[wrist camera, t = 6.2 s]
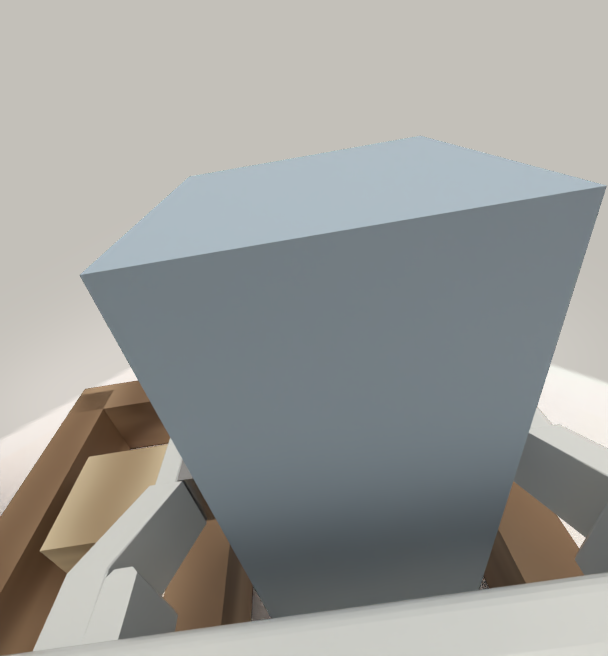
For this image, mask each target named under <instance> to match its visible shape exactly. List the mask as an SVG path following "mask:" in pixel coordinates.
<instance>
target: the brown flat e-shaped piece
mask: <svg viewBox="0 0 608 656" xmlns="http://www.w3.org/2000/svg"><path fill="white" fill-rule="evenodd" d="M169 440H170V436H169V434H168V432H167V431H166V429H165V427H164V425H163V423H162V422H161V420H160V418H159V416H158V415H157V413H156V411H155V409H154V407H153V406H152V404H151V402H150V400H149V398H148V397H147V395H146V393H145V391H144V390H143V388H142V386H141V384H140V382H139V381H132V382H126V383H120V384H113V385H107V386H101V387H94V388H88V389H85V390H84V391H83V393H82V394H81V396H80V397H79V399H78V400H77V402H76V403H75V405H74V406H73V408H72V409H71V411H70V412H69V414H68V415H67V417H66V418H65V420H64V421H63V423H62V424H61V426H60V427H59V429H58V430H57V432H56V433H55V435H54V437H53V438H52V440H51V441H50V443H49V444H48V446H47V447H46V449H45V450H44V452H43V453H42V455H41V456H40V458H39V459H38V461H37V462H36V464H35V465H34V467H33V468H32V470H31V471H30V473H29V474H28V476H27V477H26V479H25V480H24V482H23V483H22V485H21V487H20V488H19V490H18V491H17V493H16V494H15V496H14V497H13V499H12V500H11V502H10V503H9V505H8V506H7V508H6V509H5V511H4V512H3V514H2V515H1V517H0V656H2V655H10V654H17V653H24V652H31V651H33V649H34V647H35V645H36V642H37V640H38V638H39V636H40V633H41V631H42V629H43V627H44V624H45V622H46V620H47V618H48V615H49V613H50V611H51V609H52V606H53V604H54V602H55V600H56V597H57V595H58V593H59V591H60V588H61V586H62V584H63V582H64V579H65V577H66V575H67V573H66V572H64V571H63V570H62V569H61V568H60V567H58V566H57V565H56V564H55V563H54V562H52V561H51V560H50V559H49V558H48V557H46V556H45V555H44V554H43V553H41V552H40V550H41V548H42V546H43V544H44V542H45V540H46V538H47V536H48V534H49V532H50V530H51V528H52V526H53V525H54V523H55V521H56V519H57V517H58V515H59V513H60V511H61V509H62V507H63V505H64V503H65V502H66V500H67V498H68V496H69V494H70V492H71V490H72V488H73V486H74V484H75V482H76V480H77V478H78V477H79V475H80V473H81V471H82V469H83V467H84V465H85V463H86V461H87V459H88V457H91V456H97V455H103V454H110V453H116V452H122V451H129V450H130V449H133V448H139V447H146V446H152V445H159V444H165V443H169ZM206 522H207V523H206V525H205V527H204V528H203V530H202V531H201V533H200V535H199V536H198V538H197V540H196V541H195V543H194V544H193V546H192V548H191V549H190V551H189V552H188V554H187V556H186V557H185V559H184V560H183V562H182V564H181V565H180V567H179V568H178V570H177V572H176V573H175V575H174V577H173V578H172V580H171V581H170V583H169V585H168V586H167V588H166V590H165V594H164V599H165V600H166V601H167V602H168V603H169V604H170V605H171V606H172V608H173V609H174V610H175V611H176V613H177V615H178V617H177V623H176V629H175V632H177V631H184V630H191V629H198V628H206V627H213V626H220V625H227V624H235V623H242V622H249V621H251V609H252V589H253V584H252V583H251V581H250V579H249V577H248V576H247V574H246V572H245V570H244V568H243V567H242V565H241V563H240V561H239V559H238V558H237V556H236V554H235V552H234V551H233V549H232V547H231V545H230V543H229V542H228V540H227V538H226V536H225V534H224V533H223V531H222V529H221V527H220V525H219V524H218V522H217V520H216V519H214V520H209V521H206ZM578 550H579V548H578V546H577V545H576V543H575V542H574V540H573V539H572V537H571V536H570V534H569V533H568V531H567V530H566V528H565V527H564V525H563V524H562V522H561V521H560V519H559V518H558V516H557V515H556V514H555V513H554V512H552V511H551V510H550V509H548V508H547V507H546V506H545V505H543V504H542V503H541V502H539V501H538V500H537V499H536V498H534V497H533V496H532V495H530V494H529V493H528V492H527V491H525V490H524V489H523V488H522V487H520V486H519V485H518V484H516V483H515V482H514V481H513V484H512V487H511V490H510V493H509V496H508V500H507V503H506V506H505V509H504V512H503V515H502V519H501V522H500V525H499V528H498V531H497V534H496V538H495V541H494V544H493V547H492V550H491V553H490V557H489V560H488V563H487V566H486V569H485V572H484V577H485V579H486V582H487V584H488V586H489V588H496V587H504V586H511V585H518V584H525V583H533V582H540V581H547V580H554V579H562V578H569V577H576V576H584V574H583V572H582V570H581V569H580V567H579V566H578V564H577V563H576V561H575V557H576V554H577V552H578Z"/></svg>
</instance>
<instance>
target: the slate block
mask: <svg viewBox="0 0 608 656" xmlns="http://www.w3.org/2000/svg"><path fill="white" fill-rule="evenodd" d="M605 189H606V185H602V184H599V183H595V182H591V181H588V180H584V179H580V178H576V177H573V176H569V175H565V174H561V173H558V172H554V171H550V170H546V169H543V168H539V167H535V166H531V165H528V164H524V163H520V162H517V161H513V160H509V159H505V158H501V157H498V156H494V155H490V154H487V153H483V152H479V151H475V150H472V149H467V148H464V147H460V146H456V145H453V144H449V143H446V142H442V141H438V140H434V139H431V138H427V137H423V136H417V137H411V138H405V139H400V140H395V141H388V142H383V143H377V144H371V145H366V146H361V147H355V148H349V149H343V150H337V151H332V152H326V153H321V154H315V155H309V156H303V157H298V158H292V159H286V160H281V161H276V162H270V163H264V164H258V165H252V166H247V167H241V168H235V169H230V170H224V171H218V172H213V173H208V174H202V175H196V176H190V177H188V178H187V179H186V180H185V181H184V182H183V183H182V184H180V185H179V186H178V187H177V188H176V189H175V190H174V191H173V192H172V193H170V194H169V195H168V196H167V197H166V198H165V199H164V200H163V201H161V202H160V203H159V204H158V205H157V206H156V207H155V208H154V209H153V210H151V211H150V212H149V213H148V214H147V215H146V216H145V217H144V218H143V219H141V220H140V221H139V222H138V223H137V224H136V225H135V226H134V227H133V228H131V229H130V230H129V231H128V232H127V233H126V234H125V235H124V236H123V237H121V238H120V239H119V240H118V241H117V242H116V243H115V244H114V245H112V246H111V247H110V248H109V249H108V250H107V251H106V252H105V253H104V254H102V255H101V256H100V257H99V258H98V259H97V260H96V261H95V262H94V263H92V264H91V265H90V266H89V267H88V268H87V269H86V270H85V271H83V273H81V274H80V277H81V279H82V280H83V282H84V284H85V286H86V287H87V289H88V291H89V293H90V295H91V296H92V298H93V300H94V302H95V304H96V305H97V307H98V309H99V311H100V313H101V314H102V316H103V318H104V320H105V322H106V323H107V325H108V327H109V329H110V330H111V332H112V334H113V336H114V338H115V339H116V341H117V343H118V345H119V347H120V348H121V350H122V352H123V354H124V355H125V357H126V359H127V361H128V363H129V364H130V366H131V368H132V370H133V372H134V373H135V375H136V377H137V379H138V381H139V382H140V384H141V386H142V388H143V390H144V391H145V393H146V395H147V397H148V398H149V400H150V402H151V404H152V406H153V407H154V409H155V411H156V413H157V415H158V416H159V418H160V420H161V422H162V423H163V425H164V427H165V429H166V431H167V432H168V434H169V436H170V438H171V440H172V441H173V443H174V445H175V447H176V449H177V450H178V452H179V454H180V456H181V457H182V459H183V461H184V463H185V465H186V466H187V468H188V470H189V472H190V474H191V475H192V477H193V479H194V481H195V483H196V484H197V486H198V488H199V490H200V491H201V493H202V495H203V497H204V499H205V500H206V502H207V504H208V506H209V508H210V509H211V511H212V513H213V515H214V517H215V518H216V520H217V522H218V524H219V525H220V527H221V529H222V531H223V533H224V534H225V536H226V538H227V540H228V542H229V543H230V545H231V547H232V549H233V551H234V552H235V554H236V556H237V558H238V559H239V561H240V563H241V565H242V567H243V568H244V570H245V572H246V574H247V576H248V577H249V579H250V581H251V583H252V584H253V586H254V588H255V590H256V592H257V593H258V595H259V597H260V599H261V601H262V602H263V604H264V606H265V608H266V610H267V611H268V613H269V615H270V617H271V618H278V617H285V616H293V615H300V614H307V613H314V612H322V611H329V610H336V609H343V608H351V607H358V606H365V605H373V604H380V603H387V602H394V601H402V600H409V599H416V598H423V597H431V596H438V595H445V594H453V593H460V592H467V591H474V590H479V588H480V585H481V582H482V579H483V576H484V572H485V569H486V566H487V563H488V560H489V557H490V553H491V550H492V547H493V544H494V541H495V538H496V534H497V531H498V528H499V525H500V522H501V519H502V515H503V512H504V509H505V506H506V503H507V500H508V496H509V493H510V490H511V487H512V484H513V481H514V477H515V474H516V471H517V468H518V465H519V462H520V458H521V455H522V452H523V449H524V446H525V443H526V440H527V436H528V433H529V430H530V427H531V424H532V421H533V417H534V414H535V411H536V408H537V405H538V402H539V398H540V395H541V392H542V389H543V386H544V383H545V379H546V376H547V373H548V370H549V367H550V364H551V360H552V357H553V354H554V351H555V348H556V345H557V341H558V338H559V335H560V332H561V329H562V326H563V322H564V319H565V316H566V313H567V310H568V307H569V303H570V300H571V297H572V294H573V291H574V288H575V284H576V281H577V278H578V275H579V272H580V268H581V265H582V262H583V259H584V255H585V253H586V250H587V246H588V243H589V240H590V237H591V234H592V230H593V227H594V224H595V221H596V218H597V215H598V212H599V208H600V205H601V202H602V199H603V196H604V193H605Z"/></svg>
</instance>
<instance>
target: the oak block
mask: <svg viewBox="0 0 608 656" xmlns="http://www.w3.org/2000/svg"><path fill="white" fill-rule="evenodd" d="M167 446H168V444H166V445H160V446H154V447H147V448H141V449H135V450H129V451H122V452H116V453H110V454H103V455H97V456H91V457H88V459H87V461H86V463H85V465H84V467H83V469H82V471H81V473H80V475H79V477H78V478H77V480H76V482H75V484H74V486H73V488H72V490H71V492H70V494H69V496H68V498H67V500H66V502H65V503H64V505H63V507H62V509H61V511H60V513H59V515H58V517H57V519H56V521H55V523H54V525H53V526H52V528H51V530H50V532H49V534H48V536H47V538H46V540H45V542H44V544H43V546H42V548H41V550H40V552H41V553H43V554H44V555H45V556H46V557H48V558H49V559H50V560H51V561H52V562H54V563H55V564H56V565H57V566H58V567H60V568H61V569H62V570H63V571H64V572H66V573H68V572H69V571H70V570H71V569H72V568H73V567H74V566H75V565H76V564H77V563H78V562H79V561H80V559H81V558H82V557H83V556H84V555H85V554H86V553H87V552H88V551H89V550H90V549H91V548H92V547H93V546H94V545H95V543H96V542H97V541H98V540H99V539H100V538H101V537H102V536H103V535H104V534H105V533H106V532H107V531H108V530H109V529H110V527H111V526H112V525H113V524H114V523H115V522H116V521H117V520H118V519H119V518H120V517H121V516H122V515H123V514H124V513H125V511H126V510H127V509H128V508H129V507H130V506H131V505H132V504H133V503H134V502H135V501H136V500H137V499H138V498H139V497H140V495H141V494H142V493H143V492H144V491H145V490H146V489H147V488H148V487H149V486H152V485H155V484H156V480H157V477H158V474H159V471H160V468H161V465H162V462H163V458H164V455H165V452H166V449H167Z"/></svg>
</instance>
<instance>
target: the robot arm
mask: <svg viewBox="0 0 608 656" xmlns="http://www.w3.org/2000/svg"><path fill="white" fill-rule="evenodd" d="M514 482H515V483H516V484H518V485H519V486H520V487H522V488H523V489H524V490H525V491H527V492H528V493H529V494H530V495H532V496H533V497H534V498H536V499H537V500H538V501H539V502H541V503H542V504H543V505H545V506H546V507H547V508H548V509H550V510H551V511H552V512H554V513H555V514H556V515H557V516H559V517H560V518H561V519H563V520H564V521H565V522H566V523H568V524H569V525H570V526H572V527H573V528H574V529H575V530H577V531H578V532H579V533H581V534H582V535H583V536H584V537H586V539H585V540H584V542H583V544H582V545H581V547H580V549H579V550H578V552H577V554H576V557H575V561H576V563H577V564H578V566H579V567H580V569H581V570H582V572H583V574H584V576H576V577H569V578H562V579H554V580H547V581H540V582H533V583H525V584H518V585H511V586H504V587H496V588H489V589H482V590H474V591H467V592H460V593H453V594H445V595H438V596H431V597H423V598H416V599H409V600H402V601H394V602H387V603H380V604H373V605H365V606H358V607H351V608H343V609H336V610H329V611H322V612H314V613H307V614H300V615H293V616H285V617H278V618H271V619H264V620H256V621H249V622H242V623H235V624H227V625H220V626H213V627H206V628H198V629H191V630H184V631H177V632H175V629H176V623H177V617H178V615H177V613H176V611H175V610H174V609H173V608H172V606H171V605H170V604H169V603H168V602H167V601H166V600H165V599H164V598H163V597H162V594H163V593H164V591H165V589H166V588H167V586H168V585H169V583H170V581H171V580H172V578H173V577H174V575H175V573H176V572H177V570H178V568H179V567H180V565H181V564H182V562H183V560H184V559H185V557H186V556H187V554H188V552H189V551H190V549H191V548H192V546H193V544H194V543H195V541H196V540H197V538H198V536H199V535H200V533H201V531H202V530H203V528H204V527H205V525H206V523H207V522H206V521H209V520H214V519H216V518H215V517H214V515H213V513H212V511H211V509H210V508H209V506H208V504H207V502H206V500H205V499H204V497H203V495H202V493H201V491H200V490H199V488H198V486H197V484H196V483H195V481H194V479H193V477H192V475H191V474H190V472H189V470H188V468H187V466H186V465H185V463H184V461H183V459H182V457H181V456H180V454H179V452H178V450H177V449H176V447H175V445H174V443H173V441H172V440H171V438H170V440H169V443H168V446H167V449H166V452H165V455H164V458H163V462H162V465H161V468H160V471H159V474H158V477H157V480H156V484H155V485H152V486H149V487H148V488H147V489H146V490H145V491H144V492H143V493H142V494H141V495H140V497H139V498H138V499H137V500H136V501H135V502H134V503H133V504H132V505H131V506H130V507H129V508H128V509H127V510H126V511H125V513H124V514H123V515H122V516H121V517H120V518H119V519H118V520H117V521H116V522H115V523H114V524H113V525H112V526H111V527H110V529H109V530H108V531H107V532H106V533H105V534H104V535H103V536H102V537H101V538H100V539H99V540H98V541H97V542H96V543H95V545H94V546H93V547H92V548H91V549H90V550H89V551H88V552H87V553H86V554H85V555H84V556H83V557H82V558H81V559H80V561H79V562H78V563H77V564H76V565H75V566H74V567H73V568H72V569H71V570H70V571H69V572H68V573H67V575H66V577H65V579H64V582H63V584H62V586H61V588H60V591H59V593H58V595H57V597H56V600H55V602H54V604H53V606H52V609H51V611H50V613H49V615H48V618H47V620H46V622H45V624H44V627H43V629H42V631H41V633H40V636H39V638H38V640H37V642H36V645H35V647H34V649H33V651H31V652H24V653H17V654H10V655H2V656H608V448H606V447H604V446H602V445H600V444H598V443H596V442H594V441H592V440H590V439H588V438H586V437H584V436H582V435H580V434H578V433H576V432H574V431H572V430H570V429H568V428H566V427H564V426H562V425H560V424H557V425H552V423H551V422H550V421H549V420H548V419H547V418H546V416H545V415H544V414H543V413H542V412H541V411H540V409H539V408H538V407H537V408H536V411H535V414H534V417H533V421H532V424H531V427H530V430H529V433H528V436H527V440H526V443H525V446H524V449H523V452H522V455H521V458H520V462H519V465H518V468H517V471H516V474H515V477H514Z"/></svg>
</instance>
